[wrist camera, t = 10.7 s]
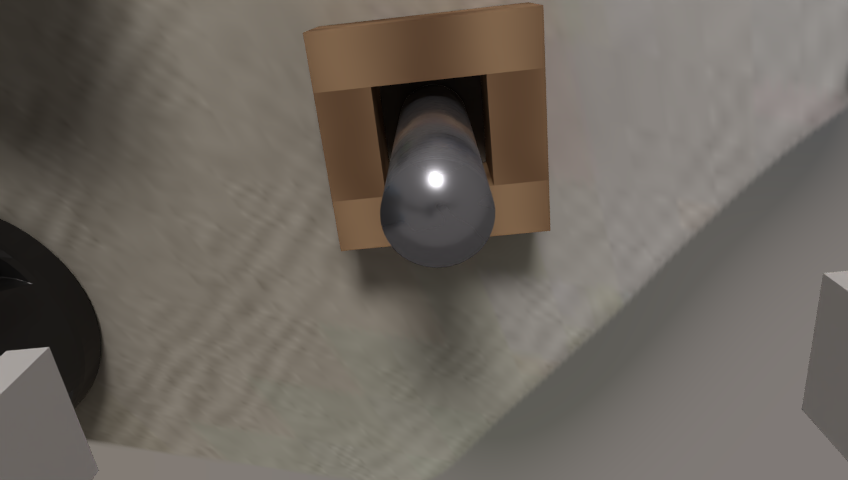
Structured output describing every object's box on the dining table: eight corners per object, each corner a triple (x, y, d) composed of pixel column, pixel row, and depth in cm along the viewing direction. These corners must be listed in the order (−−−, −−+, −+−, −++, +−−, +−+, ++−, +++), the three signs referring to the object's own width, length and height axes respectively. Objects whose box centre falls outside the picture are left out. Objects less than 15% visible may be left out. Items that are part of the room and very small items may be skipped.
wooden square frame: (350, 221, 33) (341, 251, 30) (318, 26, 29) (302, 32, 26) (536, 202, 33) (550, 230, 29) (528, 2, 29) (543, 5, 25)
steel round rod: (404, 154, 32) (387, 272, 19) (395, 88, 31) (372, 165, 18) (469, 147, 32) (498, 262, 19) (464, 80, 30) (491, 153, 17)
